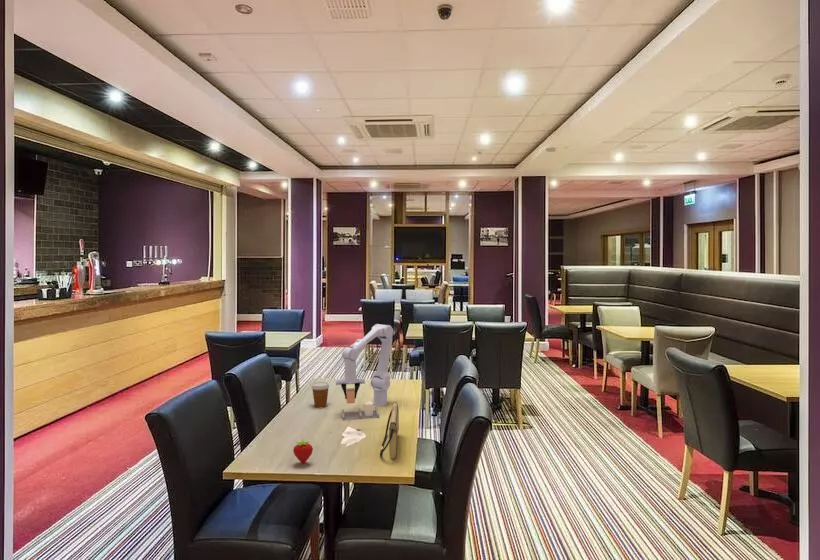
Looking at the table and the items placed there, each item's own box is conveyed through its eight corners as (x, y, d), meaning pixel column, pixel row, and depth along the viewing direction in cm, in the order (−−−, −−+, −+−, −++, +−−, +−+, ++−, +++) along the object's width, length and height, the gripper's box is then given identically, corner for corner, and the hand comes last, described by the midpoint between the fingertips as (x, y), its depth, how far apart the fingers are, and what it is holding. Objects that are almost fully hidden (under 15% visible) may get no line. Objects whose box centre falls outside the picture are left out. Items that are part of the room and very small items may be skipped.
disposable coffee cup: (308, 407, 248) (307, 385, 247) (318, 402, 257) (317, 381, 256) (323, 409, 244) (323, 387, 244) (332, 404, 253) (332, 382, 253)
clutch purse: (383, 433, 210) (383, 401, 209) (398, 433, 210) (398, 400, 209) (378, 461, 180) (378, 423, 179) (396, 461, 180) (396, 423, 179)
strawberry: (311, 466, 176) (310, 441, 175) (291, 466, 176) (291, 440, 176) (314, 460, 182) (314, 435, 181) (295, 460, 182) (295, 435, 181)
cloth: (358, 450, 193) (358, 444, 193) (327, 448, 195) (327, 442, 195) (373, 427, 218) (373, 423, 218) (346, 426, 221) (345, 421, 221)
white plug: (364, 412, 235) (364, 401, 235) (372, 412, 236) (371, 400, 236) (365, 416, 230) (364, 404, 229) (373, 416, 230) (372, 404, 230)
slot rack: (341, 414, 237) (341, 409, 236) (376, 412, 240) (376, 407, 239) (342, 422, 225) (342, 417, 225) (379, 419, 228) (379, 414, 228)
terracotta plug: (346, 400, 236) (346, 388, 236) (354, 399, 237) (354, 388, 237) (346, 403, 231) (346, 391, 230) (354, 403, 231) (354, 391, 231)
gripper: (335, 374, 228) (336, 401, 228) (365, 372, 230) (365, 399, 231) (335, 370, 235) (336, 397, 235) (364, 369, 237) (364, 395, 238)
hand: (350, 398), depth 234 cm, fingers closed on terracotta plug, 4 cm apart
